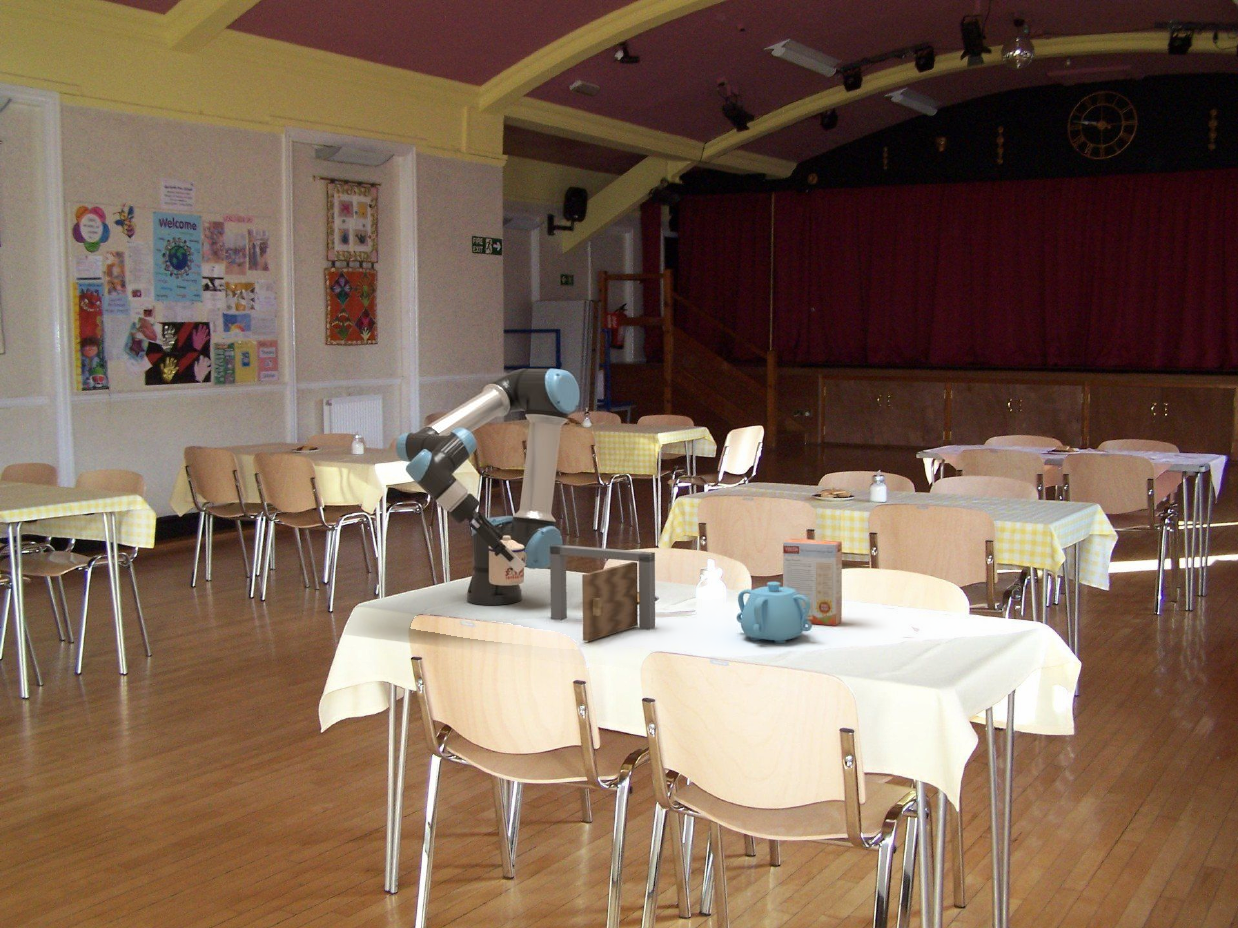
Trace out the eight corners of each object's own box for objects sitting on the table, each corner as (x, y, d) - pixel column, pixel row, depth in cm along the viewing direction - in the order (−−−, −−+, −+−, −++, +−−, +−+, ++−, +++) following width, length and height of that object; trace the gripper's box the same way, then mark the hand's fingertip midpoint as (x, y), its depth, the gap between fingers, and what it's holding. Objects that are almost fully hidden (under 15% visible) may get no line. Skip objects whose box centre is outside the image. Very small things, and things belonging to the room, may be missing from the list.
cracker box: (842, 621, 326) (843, 540, 323) (835, 626, 320) (836, 544, 318) (789, 616, 331) (789, 537, 329) (782, 621, 326) (782, 540, 324)
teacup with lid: (509, 587, 311) (509, 539, 310) (480, 583, 316) (480, 536, 315) (539, 580, 321) (539, 534, 320) (510, 576, 326) (511, 530, 325)
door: (632, 624, 322) (632, 561, 320) (643, 626, 320) (642, 563, 318) (583, 640, 306) (582, 574, 304) (593, 642, 304) (592, 575, 302)
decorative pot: (733, 631, 317) (733, 577, 315) (796, 628, 319) (796, 574, 317) (748, 647, 300) (748, 590, 299) (815, 644, 302) (815, 587, 301)
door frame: (556, 616, 334) (555, 544, 332) (655, 627, 321) (654, 552, 319) (551, 618, 331) (549, 546, 329) (650, 629, 318) (649, 554, 316)
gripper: (450, 507, 327) (511, 568, 329) (444, 519, 304) (510, 584, 306) (471, 487, 327) (532, 547, 329) (467, 497, 304) (532, 562, 306)
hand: (521, 565), depth 318 cm, fingers closed on teacup with lid, 11 cm apart
